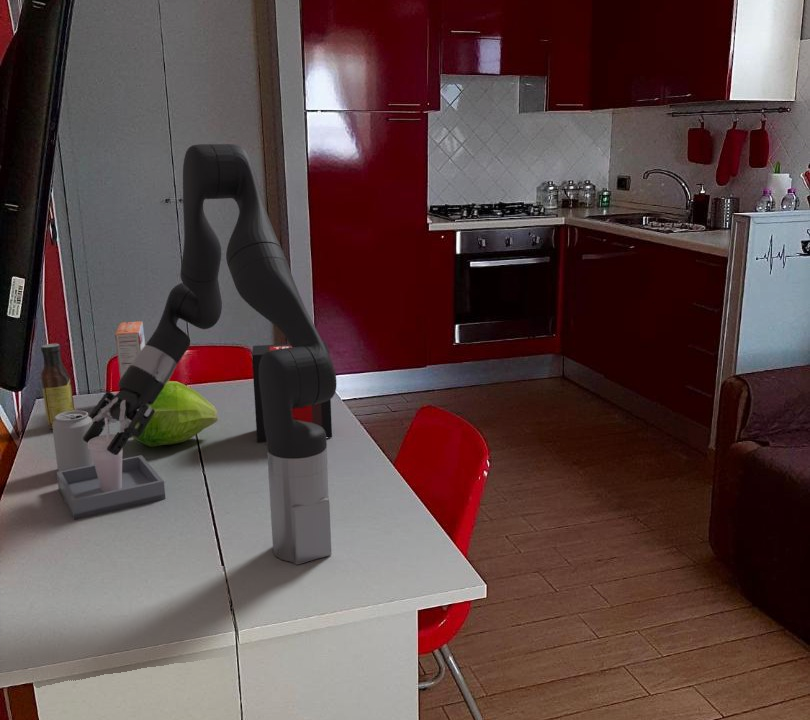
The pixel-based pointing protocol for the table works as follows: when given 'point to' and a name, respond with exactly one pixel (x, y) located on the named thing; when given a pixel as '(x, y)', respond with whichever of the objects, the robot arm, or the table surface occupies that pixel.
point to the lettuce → (177, 416)
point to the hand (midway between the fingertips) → (99, 447)
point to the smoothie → (106, 461)
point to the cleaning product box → (310, 413)
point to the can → (72, 440)
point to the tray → (90, 500)
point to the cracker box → (129, 343)
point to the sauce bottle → (55, 384)
